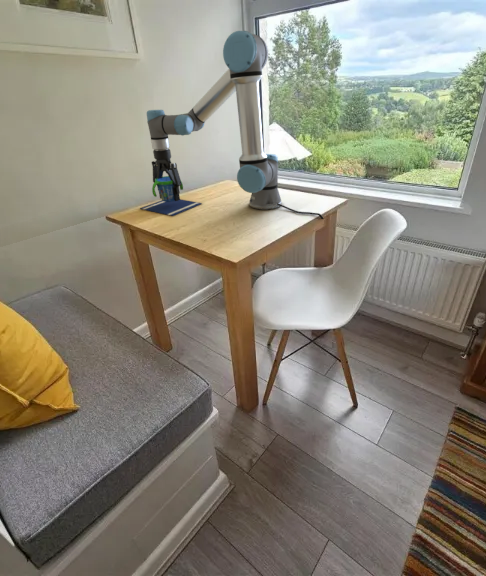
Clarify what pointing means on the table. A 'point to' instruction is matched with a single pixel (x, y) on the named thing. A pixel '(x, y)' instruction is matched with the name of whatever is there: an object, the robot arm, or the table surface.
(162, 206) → the towel
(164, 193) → the snack cup
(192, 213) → the table surface
